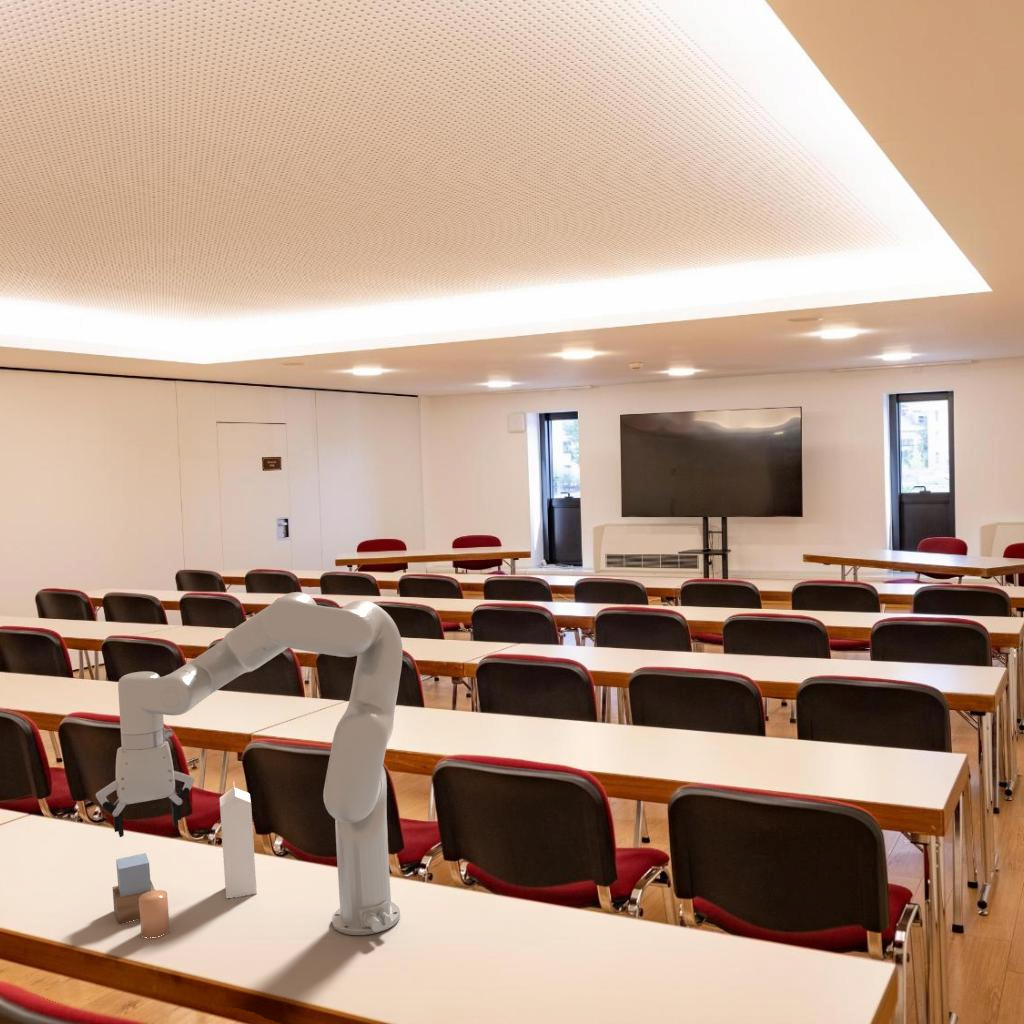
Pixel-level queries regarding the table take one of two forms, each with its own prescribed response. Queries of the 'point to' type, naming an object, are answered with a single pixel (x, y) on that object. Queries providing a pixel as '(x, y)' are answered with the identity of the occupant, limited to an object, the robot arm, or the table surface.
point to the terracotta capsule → (154, 913)
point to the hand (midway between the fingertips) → (148, 829)
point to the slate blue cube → (133, 875)
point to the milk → (238, 843)
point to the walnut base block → (127, 905)
